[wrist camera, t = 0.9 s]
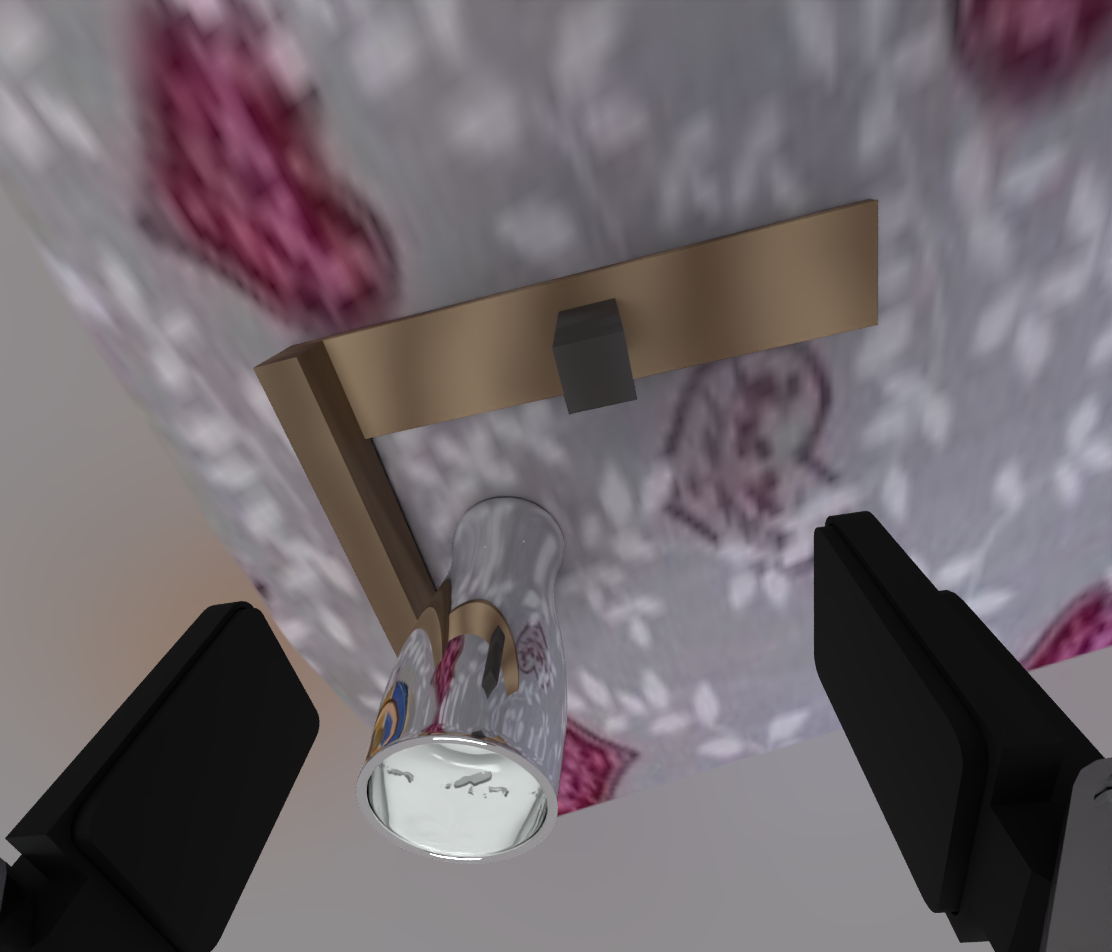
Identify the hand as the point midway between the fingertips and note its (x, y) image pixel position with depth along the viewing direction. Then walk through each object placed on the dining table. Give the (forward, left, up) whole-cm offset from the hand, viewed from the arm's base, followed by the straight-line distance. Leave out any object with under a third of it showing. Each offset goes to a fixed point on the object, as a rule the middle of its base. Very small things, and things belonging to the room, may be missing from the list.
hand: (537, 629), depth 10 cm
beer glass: (+6, +10, -19) cm, 22 cm away
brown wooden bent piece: (0, +6, -19) cm, 20 cm away
